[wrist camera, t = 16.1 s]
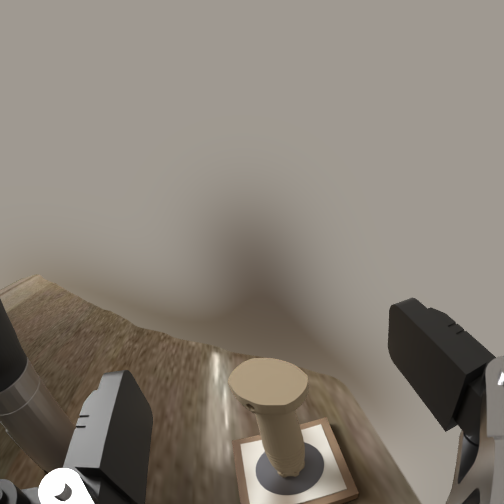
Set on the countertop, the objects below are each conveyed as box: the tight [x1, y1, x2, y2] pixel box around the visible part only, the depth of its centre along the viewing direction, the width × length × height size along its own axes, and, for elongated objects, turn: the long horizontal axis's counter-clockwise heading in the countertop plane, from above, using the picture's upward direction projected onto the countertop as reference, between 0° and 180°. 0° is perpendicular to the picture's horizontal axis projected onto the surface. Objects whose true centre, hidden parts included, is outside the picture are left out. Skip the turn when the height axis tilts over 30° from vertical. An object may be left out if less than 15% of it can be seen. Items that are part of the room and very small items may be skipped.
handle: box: [228, 358, 309, 478], centre depth 25 cm, size 5×6×15 cm
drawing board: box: [232, 417, 359, 504], centre depth 29 cm, size 12×12×2 cm
